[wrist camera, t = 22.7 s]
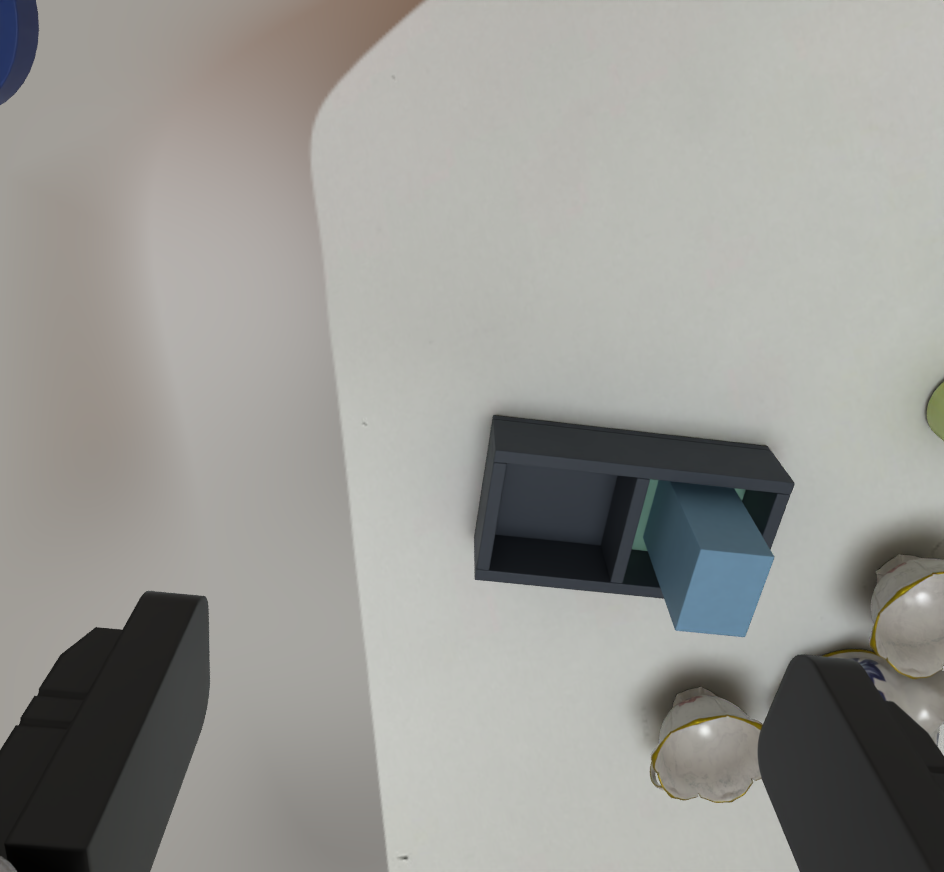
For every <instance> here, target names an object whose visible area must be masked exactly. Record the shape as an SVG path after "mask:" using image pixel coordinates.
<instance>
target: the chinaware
mask: <svg viewBox="0 0 944 872" xmlns="http://www.w3.org/2000/svg"><path fill="white" fill-rule="evenodd" d="M876 574H877V585H876V587H875V589H874V592H873V595H872V599H871V617H872V621H873V628H872V631H871V635H870V637H869V645H870V647H871V648H872V649H873V650H874V652H872V651H868V650H862V649H846V650H839V651H835V652H831V653H828V654H825V655H822V656H824V657H834V658H845V659H852V660H855V661H857V662H858V663H859V664H860V665H861V666H862V667H863V668H864V670H865V671H866V673H867V674H868V676H869V677H870V679H871V680H872V682H873V683H874V685H875V687H876V688H877V690H878V691H879V693H880V694H881V696H882V697H883V699H884V701H893V702H895V703H896V704H897V705H898V706H899V707H900V708H901V709H902V710H903V711H905V712H906V713H907V714H908V715H909V716H910V717H911V718H912V719H913V720H914V721H916V722H917V723H918V724H919V725H920V726H921V727H922V728H923V729H924V730H926V731H927V732H928V733H929V735H930V736H931V738H932V739H933V741H934V742H935V744H936V745H937V746H938V739H939V726H941V725H942V724H944V671H942V670H943V667H942V666H944V560H941V559H934V558H919V557H916V556H910V555H901V554H898V555H897V556H896V557H895V558H893V559H892V560H890V561H889V562H887V563H886V564H885V565H884V566H882V567H881V568H880V569H879V570H877V571H876ZM762 726H763V724H762V723H760V722H759V721H757V720H751V719H750V718H749V717H748V716H747V714H746V713H745V712H743V711H742V710H741V709H740V708H739V707H738V706H736V705H735V704H733V703H731V702H729V701H728V700H725V699H723V698H720V697H718V696H716V695H715V694H713V693H712V692H711V691H709V690H706V689H704V688H703V687H699V688H695V689H690V690H687V691H684V692H682V693H678V694H677V697H676V699H675V701H674V703H673V709H672V710H671V711H670V712H669V713H668V714H667V716H666V718H665V719H664V721H663V724H662V726H661V730H660V734H659V745H658V746H657V747H656V748H655V749H654V750H653V751H652V754H651V760H652V762H651V766H650V777H651V781H652V783H653V784H654V785H655V786H656V787H657V788H659V789H661V790H665V791H666V792H667V794H668V795H669V796H670V797H671V798H675V799H680V800H689V799H692V798H696V797H698V794H699V795H700V797H701V798H704V799H707V800H709V801H712V802H715V803H723V802H733V801H734V800H736V799H738V798H740V797H741V796H743V795H744V794H745V793H746V792H747V790H748V789H749V787H750V786H751V785H752V783H753V781H752V779H754V780H755V781H756V780H759V779H762V777H761V774H760V770H759V765H758V751H757V750H758V739H759V734H760V731H761V728H762ZM655 772H656V773H658V774H657V775H658V778H659V781H660V784H661V786H660V785H659V784H658V782H657V780H656V776H655Z"/></svg>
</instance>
